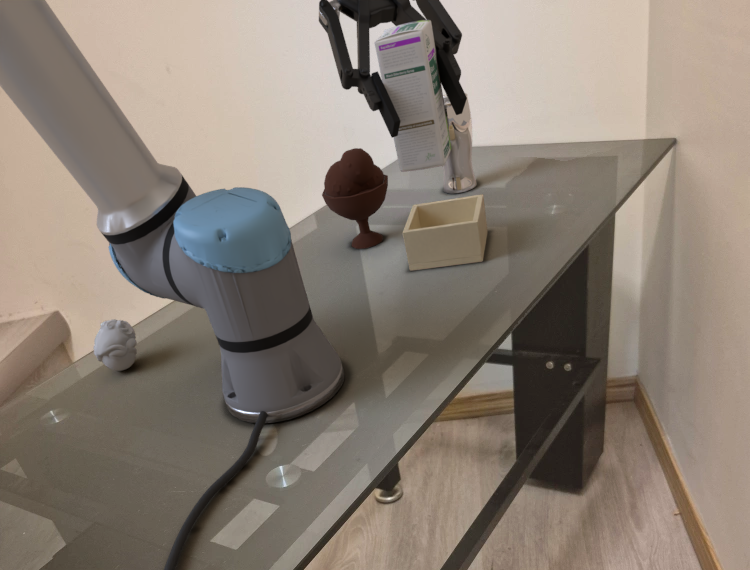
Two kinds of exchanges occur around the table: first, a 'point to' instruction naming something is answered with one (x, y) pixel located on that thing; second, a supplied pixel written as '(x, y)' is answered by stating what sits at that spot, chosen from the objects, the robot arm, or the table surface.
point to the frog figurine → (115, 344)
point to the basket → (446, 233)
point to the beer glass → (459, 150)
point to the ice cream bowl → (356, 193)
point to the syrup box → (415, 94)
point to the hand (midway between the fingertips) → (429, 117)
